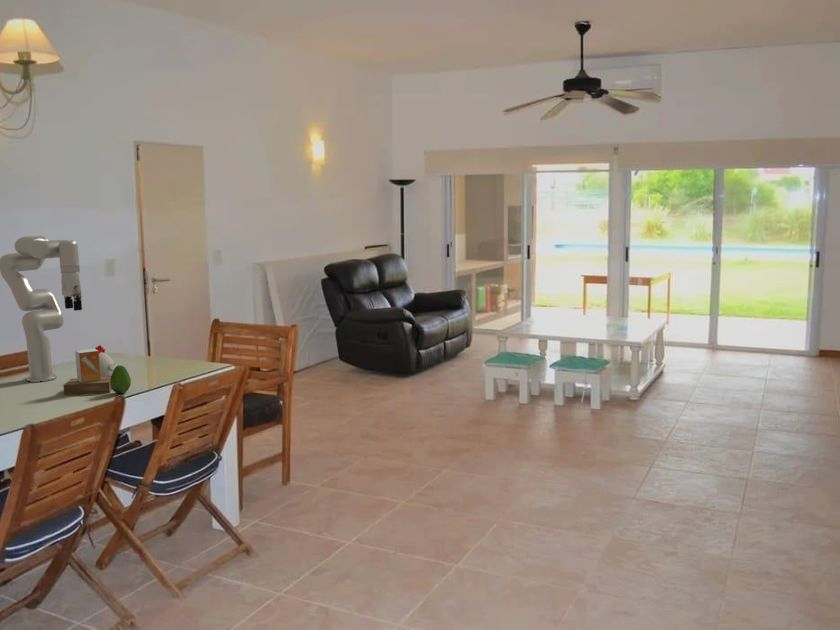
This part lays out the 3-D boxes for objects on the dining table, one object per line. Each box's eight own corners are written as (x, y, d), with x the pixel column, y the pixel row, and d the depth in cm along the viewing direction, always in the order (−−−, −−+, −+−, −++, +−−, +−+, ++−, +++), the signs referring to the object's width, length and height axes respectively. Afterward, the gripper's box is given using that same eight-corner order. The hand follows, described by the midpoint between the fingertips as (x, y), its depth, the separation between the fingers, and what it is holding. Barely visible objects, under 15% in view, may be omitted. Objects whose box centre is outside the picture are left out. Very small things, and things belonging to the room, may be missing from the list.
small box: (81, 383, 333) (78, 352, 331) (77, 380, 338) (74, 350, 336) (101, 380, 338) (98, 350, 336) (97, 377, 343) (94, 348, 341)
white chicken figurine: (79, 381, 358) (76, 348, 356) (95, 374, 372) (92, 343, 370) (108, 381, 357) (106, 348, 355) (123, 374, 370) (121, 343, 368)
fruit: (125, 395, 329) (122, 367, 327) (107, 395, 330) (105, 367, 328) (135, 391, 336) (132, 363, 335) (117, 390, 338) (115, 363, 336)
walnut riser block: (72, 390, 344) (71, 378, 343) (115, 387, 346) (114, 376, 346) (64, 396, 332) (63, 385, 331) (109, 394, 335) (108, 382, 334)
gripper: (53, 269, 343) (57, 308, 346) (68, 271, 331) (72, 312, 333) (71, 268, 348) (74, 306, 351) (87, 270, 336) (90, 310, 338)
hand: (73, 309), depth 342 cm, fingers open, 9 cm apart
